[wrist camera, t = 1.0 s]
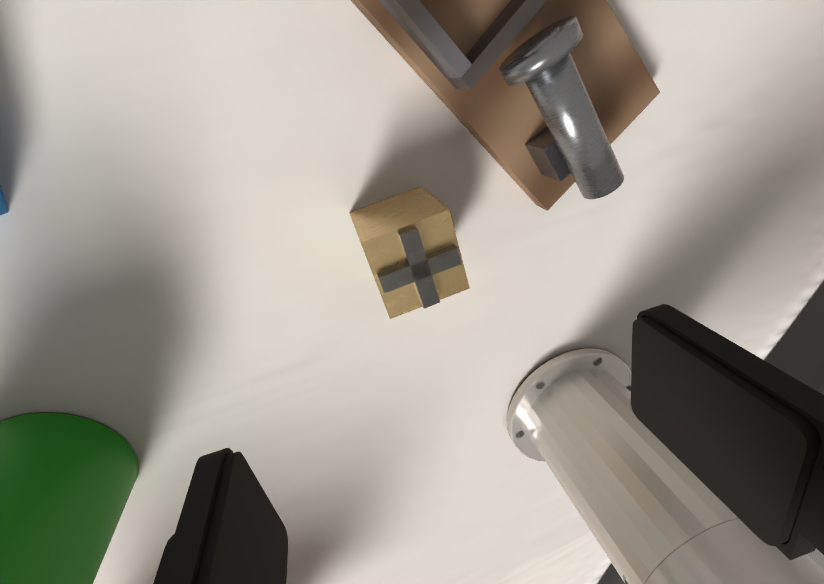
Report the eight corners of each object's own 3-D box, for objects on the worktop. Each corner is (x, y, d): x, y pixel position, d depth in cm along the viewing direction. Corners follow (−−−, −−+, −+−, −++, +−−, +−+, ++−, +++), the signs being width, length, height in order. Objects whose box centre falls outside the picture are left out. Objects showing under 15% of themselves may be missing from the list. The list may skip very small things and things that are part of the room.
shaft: (467, 72, 25) (520, 67, 19) (520, 27, 25) (593, 7, 19) (534, 189, 29) (595, 215, 23) (580, 151, 29) (655, 169, 23)
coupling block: (420, 186, 28) (452, 212, 22) (440, 253, 30) (473, 292, 24) (349, 212, 27) (362, 246, 21) (374, 277, 30) (392, 324, 24)
